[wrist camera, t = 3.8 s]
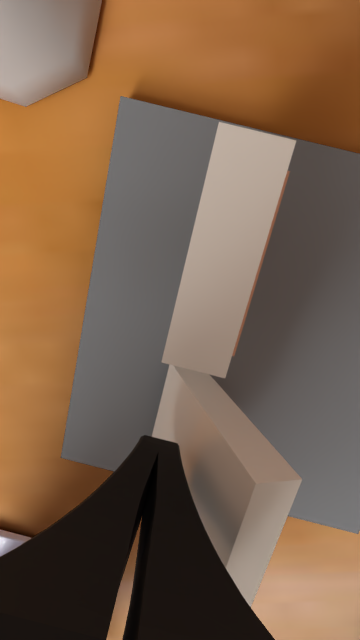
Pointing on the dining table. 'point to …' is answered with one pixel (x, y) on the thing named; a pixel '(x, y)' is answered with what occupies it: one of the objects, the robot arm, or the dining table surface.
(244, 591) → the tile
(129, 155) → the slate mat
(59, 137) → the dining table surface
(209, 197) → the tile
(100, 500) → the robot arm
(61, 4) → the flask
